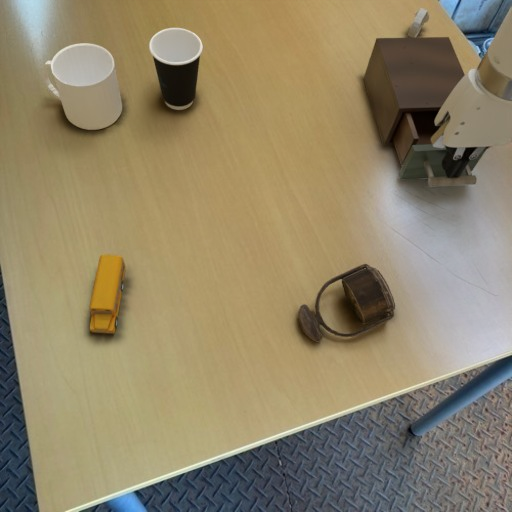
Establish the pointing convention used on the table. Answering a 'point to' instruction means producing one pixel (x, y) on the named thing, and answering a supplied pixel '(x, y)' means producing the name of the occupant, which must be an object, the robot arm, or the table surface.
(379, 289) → the mechanical counter
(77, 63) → the mug
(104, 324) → the toy bus
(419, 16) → the wristwatch
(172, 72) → the dixie cup
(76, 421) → the table surface
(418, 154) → the drawer
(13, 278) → the table surface
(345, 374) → the table surface
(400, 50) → the cabinet
